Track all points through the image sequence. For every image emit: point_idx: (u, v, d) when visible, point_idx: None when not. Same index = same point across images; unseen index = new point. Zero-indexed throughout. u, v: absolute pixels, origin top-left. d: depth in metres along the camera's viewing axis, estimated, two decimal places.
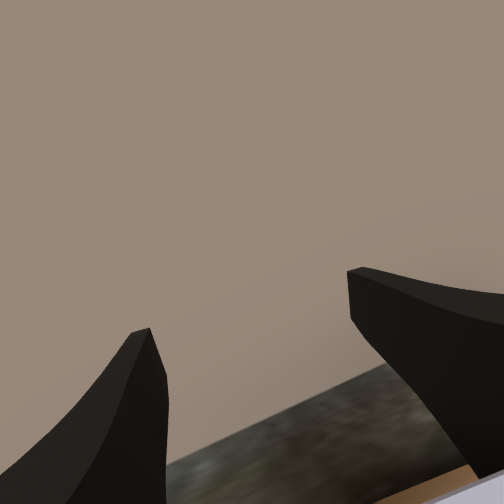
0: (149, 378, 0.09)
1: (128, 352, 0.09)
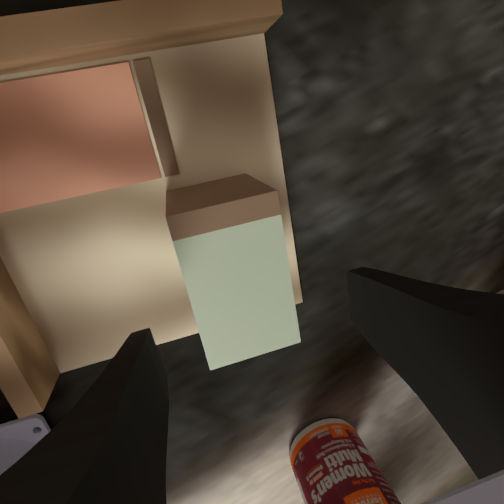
0: (149, 378, 0.09)
1: (128, 352, 0.09)
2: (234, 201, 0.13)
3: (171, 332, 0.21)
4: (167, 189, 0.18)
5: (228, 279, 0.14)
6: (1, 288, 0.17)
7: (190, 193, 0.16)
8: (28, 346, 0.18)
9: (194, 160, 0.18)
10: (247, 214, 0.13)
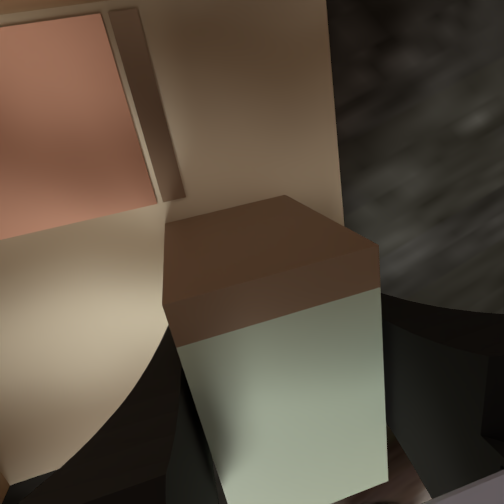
0: None
1: None
2: (298, 267, 0.07)
3: None
4: (166, 221, 0.12)
5: (278, 402, 0.08)
6: None
7: (204, 233, 0.10)
8: None
9: (208, 176, 0.12)
10: (320, 290, 0.07)
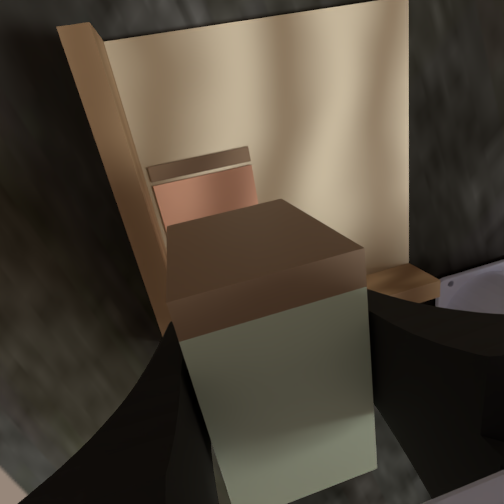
0: None
1: (174, 339, 0.09)
2: (291, 268, 0.07)
3: (400, 165, 0.21)
4: (262, 159, 0.19)
5: (273, 393, 0.08)
6: None
7: (204, 236, 0.10)
8: (381, 283, 0.22)
9: (235, 130, 0.18)
10: (311, 289, 0.08)
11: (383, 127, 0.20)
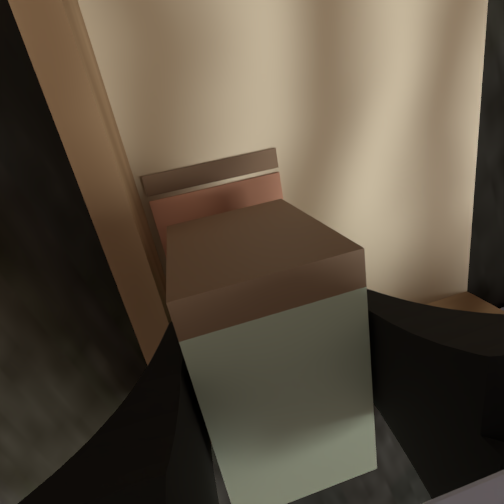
0: None
1: (174, 339, 0.09)
2: (291, 269, 0.07)
3: (466, 171, 0.16)
4: (293, 165, 0.14)
5: (272, 393, 0.08)
6: None
7: (204, 236, 0.10)
8: None
9: (259, 126, 0.13)
10: (311, 290, 0.08)
11: (448, 122, 0.15)
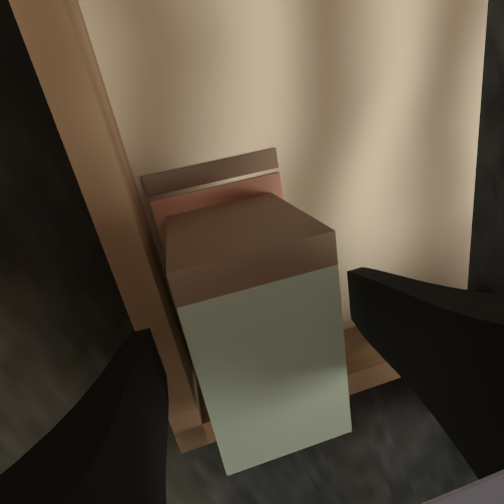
0: (149, 378, 0.09)
1: (128, 352, 0.09)
2: (272, 247, 0.09)
3: (466, 171, 0.16)
4: (293, 165, 0.14)
5: (257, 357, 0.10)
6: None
7: (200, 223, 0.12)
8: None
9: (259, 126, 0.13)
10: (289, 265, 0.09)
11: (448, 122, 0.15)
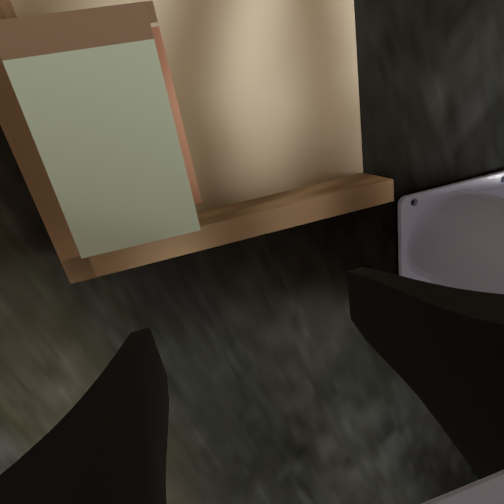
0: (149, 378, 0.09)
1: (128, 352, 0.09)
2: (85, 9, 0.10)
3: (346, 44, 0.18)
4: (172, 21, 0.16)
5: (90, 128, 0.11)
6: (267, 200, 0.18)
7: None
8: (326, 187, 0.19)
9: None
10: (106, 32, 0.10)
11: None
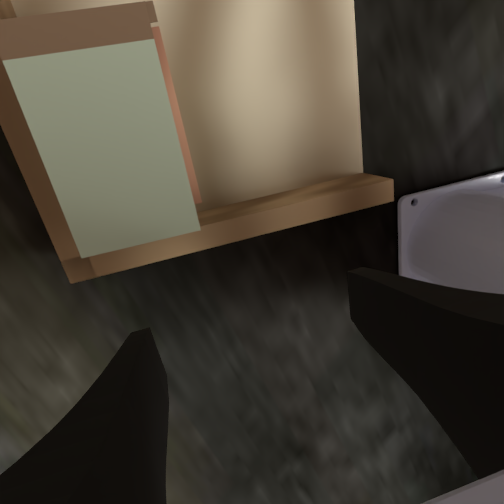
0: (149, 378, 0.09)
1: (128, 352, 0.09)
2: (85, 9, 0.10)
3: (346, 44, 0.18)
4: (172, 21, 0.16)
5: (91, 128, 0.11)
6: (267, 200, 0.18)
7: None
8: (326, 187, 0.19)
9: None
10: (106, 32, 0.10)
11: None
